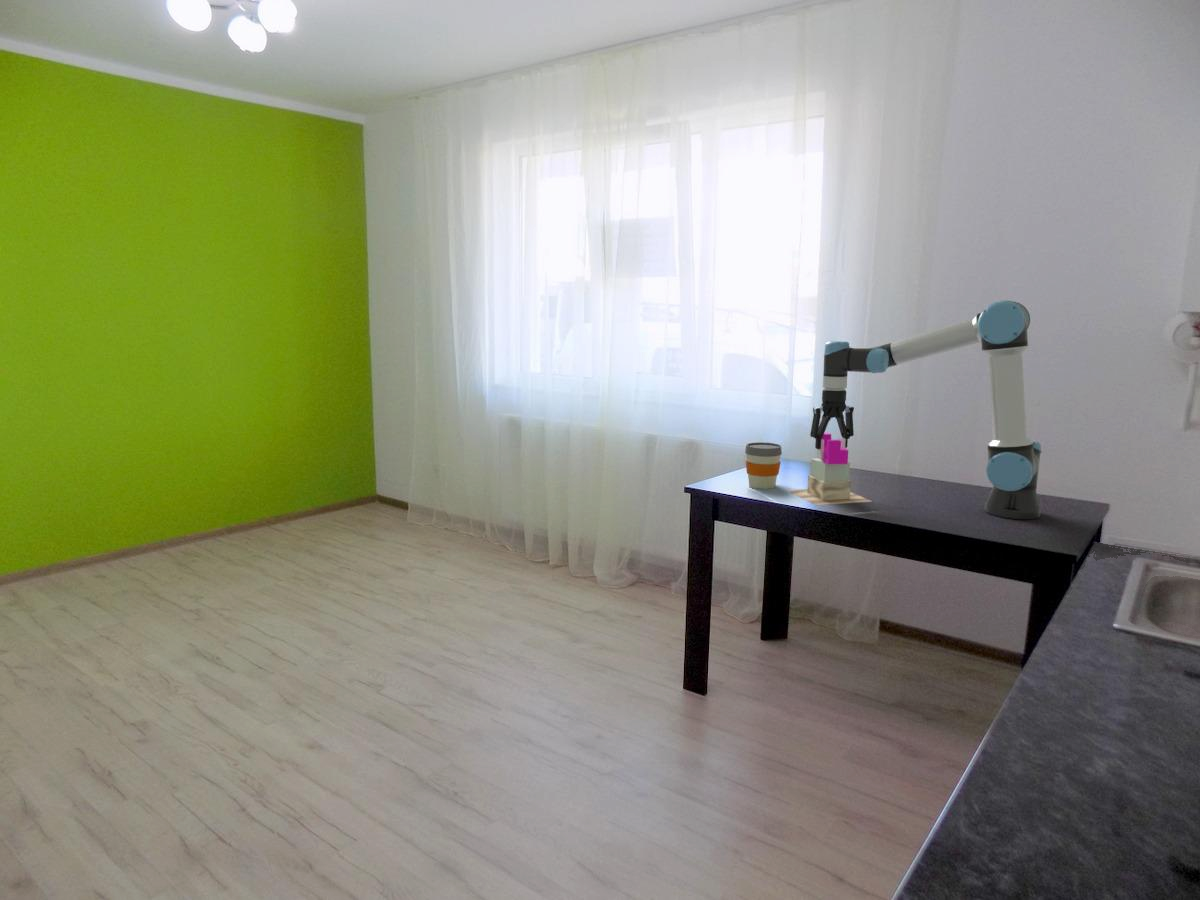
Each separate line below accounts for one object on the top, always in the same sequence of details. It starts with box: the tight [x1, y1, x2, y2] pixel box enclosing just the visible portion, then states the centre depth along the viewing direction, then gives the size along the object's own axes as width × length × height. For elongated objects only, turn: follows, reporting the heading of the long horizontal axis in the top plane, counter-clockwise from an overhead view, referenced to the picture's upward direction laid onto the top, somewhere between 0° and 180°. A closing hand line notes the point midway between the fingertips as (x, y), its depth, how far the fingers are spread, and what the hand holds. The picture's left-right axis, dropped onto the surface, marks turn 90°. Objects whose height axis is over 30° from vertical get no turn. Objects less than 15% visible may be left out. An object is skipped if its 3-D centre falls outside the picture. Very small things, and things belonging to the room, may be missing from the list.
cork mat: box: [786, 488, 872, 506], centre depth 252 cm, size 20×20×1 cm
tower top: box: [809, 457, 851, 482], centre depth 250 cm, size 9×9×6 cm
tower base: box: [807, 475, 852, 500], centre depth 251 cm, size 10×10×6 cm
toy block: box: [822, 432, 849, 464], centre depth 247 cm, size 15×6×8 cm, turn 176°
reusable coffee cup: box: [744, 441, 783, 490], centre depth 265 cm, size 13×13×15 cm
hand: (830, 458), depth 249 cm, fingers closed on toy block, 7 cm apart
